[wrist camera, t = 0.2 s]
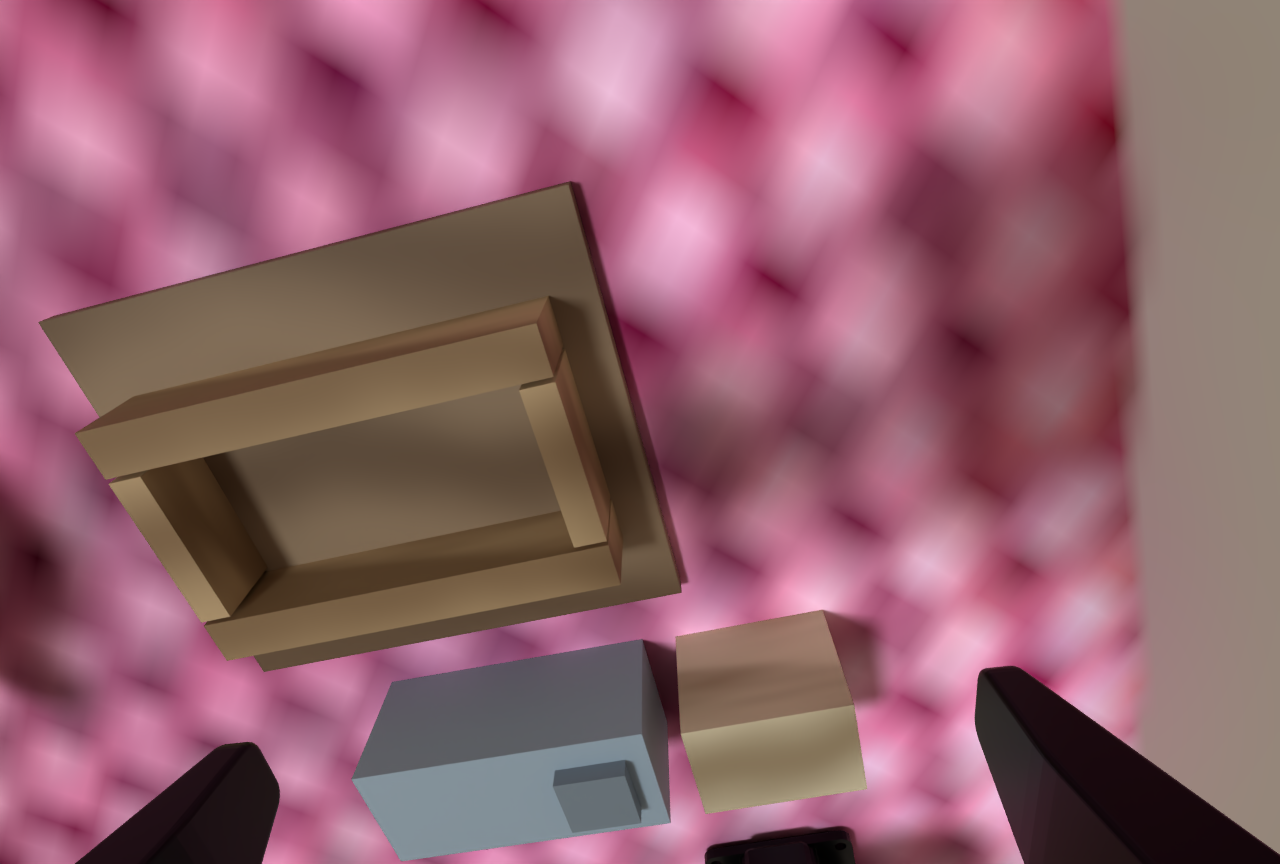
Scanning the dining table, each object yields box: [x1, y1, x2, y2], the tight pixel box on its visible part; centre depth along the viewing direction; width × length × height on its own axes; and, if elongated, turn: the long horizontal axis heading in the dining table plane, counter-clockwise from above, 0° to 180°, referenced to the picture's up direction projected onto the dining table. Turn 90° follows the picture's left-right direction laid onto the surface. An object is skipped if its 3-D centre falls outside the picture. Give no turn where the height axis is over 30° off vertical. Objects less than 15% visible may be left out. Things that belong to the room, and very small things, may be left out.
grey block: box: [352, 639, 671, 861], centre depth 26 cm, size 4×10×5 cm, turn 103°
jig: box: [38, 182, 682, 672], centre depth 22 cm, size 14×16×3 cm
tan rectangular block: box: [675, 610, 867, 814], centre depth 25 cm, size 4×6×4 cm
